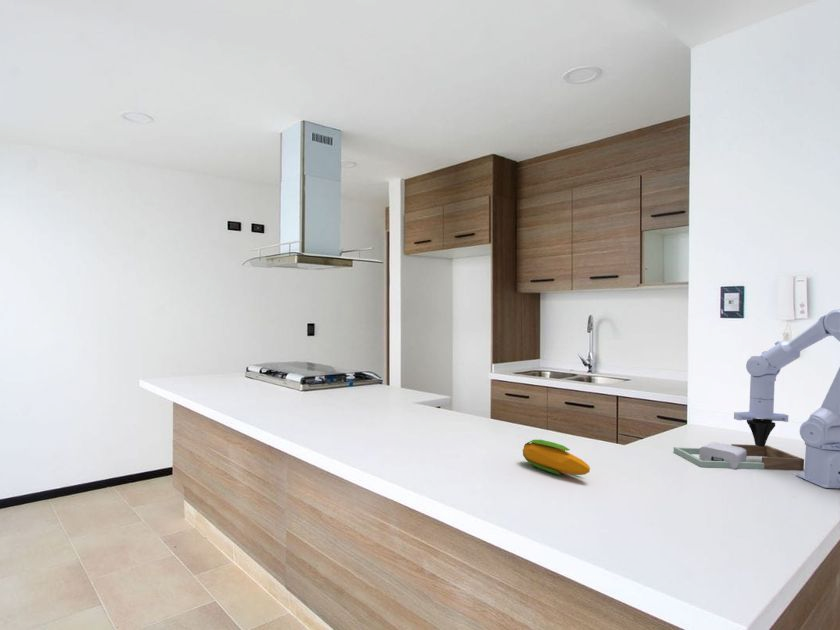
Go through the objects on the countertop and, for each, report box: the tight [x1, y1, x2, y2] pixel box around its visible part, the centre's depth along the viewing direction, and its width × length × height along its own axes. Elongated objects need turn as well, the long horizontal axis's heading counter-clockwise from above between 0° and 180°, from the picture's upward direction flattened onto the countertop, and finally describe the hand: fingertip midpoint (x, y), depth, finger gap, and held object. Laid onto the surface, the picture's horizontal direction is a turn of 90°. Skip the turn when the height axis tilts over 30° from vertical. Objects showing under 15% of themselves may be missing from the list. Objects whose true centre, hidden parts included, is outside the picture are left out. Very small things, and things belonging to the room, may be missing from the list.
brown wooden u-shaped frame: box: [730, 443, 805, 471], centre depth 144 cm, size 14×11×3 cm
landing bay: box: [673, 446, 765, 470], centre depth 143 cm, size 14×18×2 cm
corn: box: [522, 439, 591, 476], centre depth 127 cm, size 7×8×20 cm
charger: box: [698, 441, 747, 470], centre depth 144 cm, size 5×9×15 cm
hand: (759, 445), depth 143 cm, fingers closed
